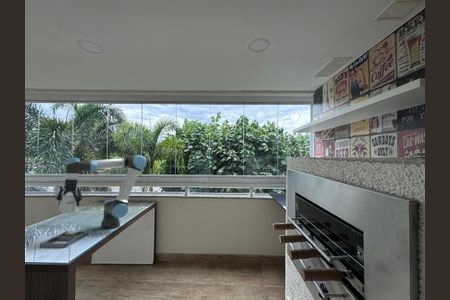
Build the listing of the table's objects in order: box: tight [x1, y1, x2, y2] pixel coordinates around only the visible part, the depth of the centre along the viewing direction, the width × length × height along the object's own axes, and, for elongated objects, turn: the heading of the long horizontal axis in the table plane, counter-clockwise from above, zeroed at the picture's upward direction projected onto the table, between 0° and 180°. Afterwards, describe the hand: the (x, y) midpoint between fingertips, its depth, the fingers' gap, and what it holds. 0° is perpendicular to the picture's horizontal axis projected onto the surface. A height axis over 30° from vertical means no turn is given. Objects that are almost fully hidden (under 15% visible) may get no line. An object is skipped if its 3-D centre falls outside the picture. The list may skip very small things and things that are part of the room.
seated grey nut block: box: [64, 230, 79, 237], centre depth 171 cm, size 6×6×4 cm
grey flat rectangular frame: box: [39, 230, 89, 249], centre depth 165 cm, size 27×16×2 cm, turn 3°
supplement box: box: [60, 193, 77, 214], centre depth 169 cm, size 7×7×13 cm
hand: (68, 210), depth 169 cm, fingers closed on supplement box, 10 cm apart
